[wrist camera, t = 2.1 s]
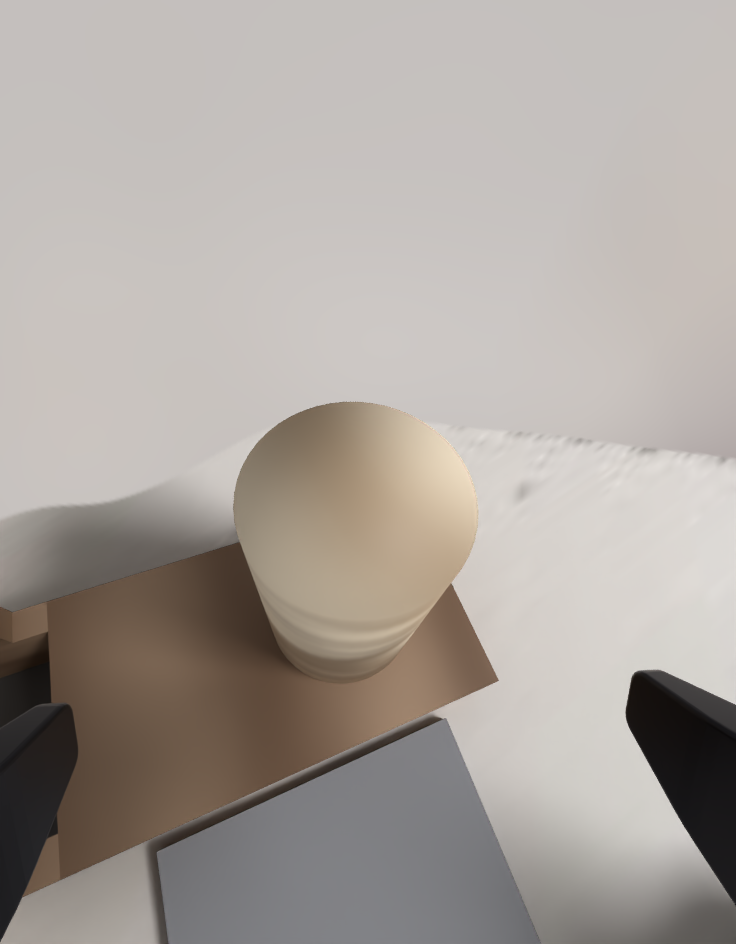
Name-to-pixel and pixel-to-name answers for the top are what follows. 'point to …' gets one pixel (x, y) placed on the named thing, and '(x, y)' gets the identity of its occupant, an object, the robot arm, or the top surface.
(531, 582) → the top surface
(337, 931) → the mat
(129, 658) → the wooden track
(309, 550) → the birch cylinder
